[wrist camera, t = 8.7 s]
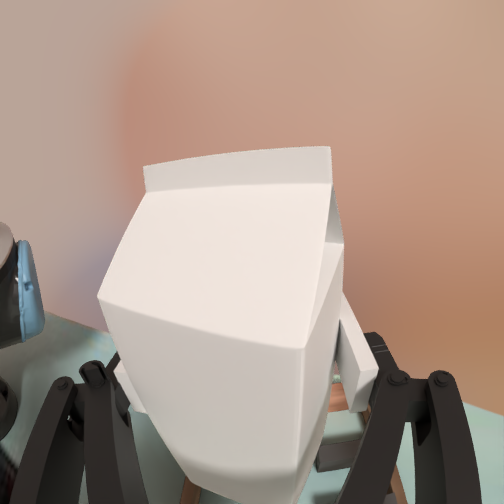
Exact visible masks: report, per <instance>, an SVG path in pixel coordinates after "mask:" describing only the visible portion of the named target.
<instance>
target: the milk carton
mask: <svg viewBox="0 0 504 504" xmlns="http://www.w3.org/2000/svg"><path fill="white" fill-rule="evenodd" d="M143 171H144V180H145V187H146V194H145V196H144V198H143V200H142V201H141V203H140V205H139V207H138V209H137V211H136V212H135V214H134V216H133V218H132V220H131V222H130V224H129V226H128V228H127V230H126V232H125V234H124V236H123V238H122V240H121V242H120V244H119V246H118V249H117V250H116V253H115V255H114V257H113V259H112V261H111V264H110V266H109V268H108V271H107V273H106V275H105V278H104V280H103V282H102V285H101V287H100V290H99V292H98V295H97V298H98V301H99V304H100V306H101V310H102V312H103V315H104V318H105V320H106V324H107V326H108V329H109V332H110V334H111V337H112V339H113V342H114V344H115V347H116V349H117V352H118V354H119V356H120V359H121V361H122V363H123V365H124V368H125V370H126V372H127V374H128V376H129V378H130V381H131V383H132V385H133V387H134V389H135V391H136V393H137V395H138V397H139V399H140V401H141V403H142V405H143V406H144V408H145V410H146V412H147V414H148V416H149V417H150V419H151V421H152V423H153V424H154V426H155V428H156V430H157V431H158V433H159V435H160V436H161V438H162V440H163V441H164V443H165V444H166V446H167V448H168V449H169V451H170V452H171V454H172V455H173V457H174V458H175V460H176V461H177V463H178V464H179V466H180V467H181V469H182V470H183V471H184V473H185V474H186V476H187V477H188V478H189V480H190V481H191V482H192V483H194V484H196V485H198V486H200V487H202V488H204V489H206V490H209V491H211V492H213V493H216V494H218V495H221V496H223V497H226V498H228V499H231V500H234V501H237V502H239V503H242V504H297V501H298V499H299V497H300V495H301V492H302V490H303V488H304V485H305V483H306V481H307V478H308V476H309V473H310V471H311V468H312V465H313V463H314V460H315V458H316V455H317V452H318V449H319V446H320V444H321V441H322V438H323V433H324V429H325V423H326V418H327V413H328V407H329V401H330V395H331V389H332V382H333V375H334V368H335V360H336V351H337V343H338V333H339V323H340V313H341V300H342V282H343V263H344V262H343V261H344V239H343V234H342V228H341V222H340V217H339V212H338V206H337V201H336V197H335V191H334V187H333V181H332V161H331V148H330V147H329V146H318V147H317V146H316V147H293V148H277V149H264V150H252V151H242V152H233V153H225V154H216V155H209V156H202V157H195V158H189V159H182V160H176V161H171V162H164V163H159V164H154V165H149V166H144V167H143Z"/></svg>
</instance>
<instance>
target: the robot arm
mask: <svg viewBox="0 0 504 504" xmlns="http://www.w3.org/2000/svg"><path fill="white" fill-rule="evenodd" d="M44 324H45V317H44V310H43V305H42V300H41V294H40V289H39V284H38V279H37V274H36V269H35V264H34V260H33V254H32V251H31V247H30V245H29V243H28V241H25V240H24V241H21V240H19V241H18V242H17V243H15V241H14V238H13V235H12V233H11V230H10V228H9V227H8V226H7V225H6V224H4V223H2V222H0V349H2V348H5V347H8V346H11V345H14V344H17V343H21V342H25V340H26V339H29V338H31V337H33V336H36V335H38V334H40V333H41V332H42V330H43V328H44ZM336 363H337V366H338V370H339V374H340V377H341V381H342V385H343V388H344V392H345V396H346V400H347V403H348V407H349V411H350V413H355V412H361V411H366V410H367V407H368V404H369V405H370V408H371V412H370V415H369V417H368V420H367V423H366V427H365V430H364V433H363V436H362V439H361V442H360V445H359V448H358V450H357V453H356V456H355V458H354V461H353V463H352V466H351V468H350V471H349V473H348V475H347V478H346V480H345V482H344V485H343V487H342V489H341V491H340V493H339V496H338V498H337V500H336V502H335V504H383V503H384V500H385V497H386V494H387V491H388V488H389V485H390V482H391V479H392V475H393V472H394V468H395V465H396V461H397V457H398V453H399V449H400V445H401V440H402V435H403V431H404V426H405V422H411V427H412V437H413V448H414V463H415V504H482V499H481V489H480V481H479V474H478V468H477V462H476V456H475V451H474V446H473V442H472V437H471V433H470V429H469V425H468V421H467V417H466V414H465V410H464V407H463V403H462V400H461V397H460V394H459V391H458V388H457V385H456V382H455V379H454V377H453V376H452V375H451V374H450V373H449V372H446V371H441V370H438V371H434V372H433V373H431V374H430V376H429V378H428V379H413V378H410V376H409V375H408V374H407V373H406V372H404V371H401V370H399V368H398V367H397V365H396V363H395V361H394V359H393V357H392V355H391V353H390V351H389V350H388V347H387V346H386V344H385V342H384V340H383V338H382V337H381V336H380V335H378V334H377V333H376V332H371V333H363V332H362V330H361V329H360V326H359V324H358V322H357V320H356V318H355V316H354V314H353V312H352V310H351V308H350V306H349V304H348V302H347V300H346V298H345V296H344V294H343V292H342V300H341V313H340V323H339V333H338V343H337V351H336ZM79 373H80V375H81V377H82V379H83V380H84V382H85V383H82V384H75V383H74V381H73V380H72V379H71V378H70V377H67V376H65V377H60V378H58V379H57V380H55V381H54V383H53V384H52V386H51V388H50V390H49V392H48V395H47V397H46V399H45V401H44V403H43V406H42V408H41V410H40V413H39V415H38V417H37V420H36V422H35V425H34V427H33V430H32V432H31V435H30V437H29V440H28V443H27V445H26V448H25V451H24V454H23V457H22V460H21V463H20V466H19V469H18V473H17V476H16V479H15V483H14V487H13V491H12V494H11V499H10V503H9V504H78V501H79V494H80V488H81V482H82V476H83V471H84V466H85V471H86V483H87V493H88V501H89V504H149V503H148V499H147V496H146V492H145V488H144V484H143V480H142V476H141V472H140V467H139V463H138V458H137V453H136V448H135V442H134V437H133V430H132V424H131V417H130V414H129V411H128V408H129V405H130V404H131V406H132V408H133V410H134V411H136V412H141V413H147V412H146V410H145V408H144V406H143V405H142V403H141V401H140V399H139V397H138V395H137V393H136V391H135V389H134V387H133V385H132V383H131V381H130V378H129V376H128V374H127V372H126V370H125V368H124V365H123V363H122V361H121V359H120V356H119V354H118V352H116V353H115V355H114V356H113V358H112V359H111V361H110V362H109V364H108V365H107V367H106V368H105V367H104V365H103V363H102V362H101V361H97V360H93V361H89V362H86V363H85V364H83V365H82V366H81V367H80V369H79ZM16 413H17V399H16V396H15V394H14V392H13V391H12V389H11V388H10V387H9V385H8V384H7V382H6V381H5V380H4V379H3V378H2V377H0V440H1V439H2V438H3V437H4V436H5V435H6V434H7V432H8V431H9V430H10V428H11V426H12V424H13V422H14V420H15V417H16ZM68 416H70V418H69V420H67V419H68Z"/></svg>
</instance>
